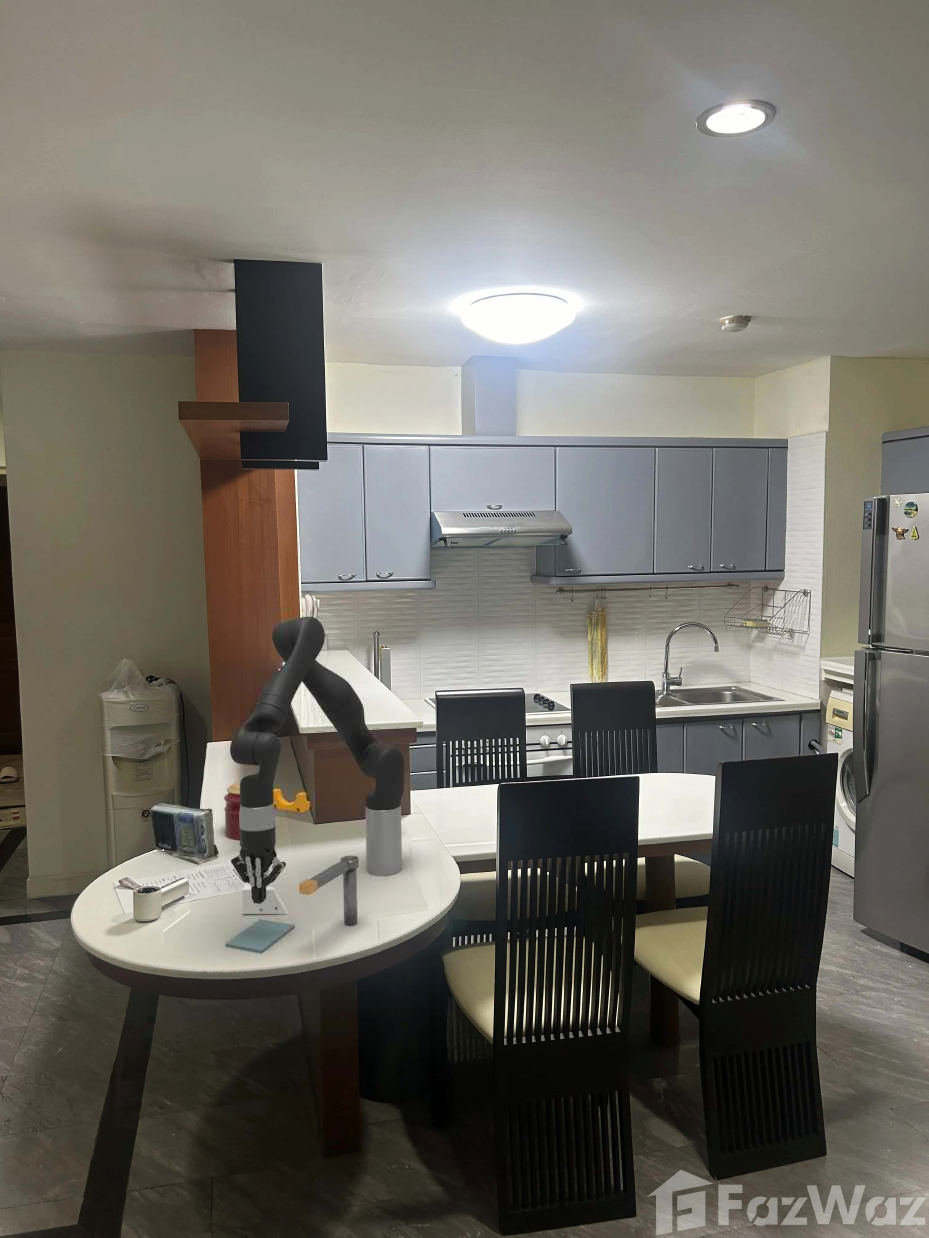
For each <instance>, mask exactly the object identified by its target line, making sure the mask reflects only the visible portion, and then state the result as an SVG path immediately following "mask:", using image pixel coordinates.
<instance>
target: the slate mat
mask: <svg viewBox="0 0 929 1238" xmlns="http://www.w3.org/2000/svg"><path fill="white" fill-rule="evenodd" d="M295 928H296V926H295V924H292V923H286V922H280V921H273V920H269V919H268V920H267V919H263V918H262V919H261V918H260V919H258V920H257V921H255V922H254V923H252V924H251V925H250V926H248V927H247V928H244V930H242V931H241V932H240V933H237V935H236V936H234V937H233V938H231V939H229V940H228V941H227V942H225V945H224V946H225V947H226V948H229V949H234V950H241V951H247V952H250V953H251V952H252V953H257V954H261V955H263V954H264V953H265V952H266V951H267V950H268V949H270V948H272V947H273V946H274V945H275V944H276V943H277V942H279V941H280V940H281V939H282V938H284V937H285V936H287V935H288V934H289V933H291V932H292V931H293V930H294V929H295Z"/></svg>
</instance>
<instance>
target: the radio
mask: <svg viewBox="0 0 929 1238" xmlns="http://www.w3.org/2000/svg"><path fill="white" fill-rule="evenodd" d="M150 814H151V815H150V816H151V822H152V828H153V832H154V833H153V834H154V841H155V850H156V851H159V852H162V853H164V852H165V853H164V854H165V855H168V856H172V857H174V858H178V859H179V860H180V859H181V860H183V861H187V862H190V863H192V864H195V865H197V866H199V865H202V864H206V863H209V862H213V861H215V860H217V859H219V858H220V857H219V853H220V852H219V850H218V847H217V844H215V831H214V830H215V829H214V815H213V809H212V808H211V807H210V808H197V807H188V806H183V805H175V804H170V803H169V804H168V803H154V804H153V805H152V807H151V809H150ZM163 849H164V851H160V850H163Z"/></svg>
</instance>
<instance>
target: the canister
mask: <svg viewBox="0 0 929 1238" xmlns="http://www.w3.org/2000/svg"><path fill="white" fill-rule="evenodd" d="M244 777H245V776H243V777H242V778H244ZM226 792H227V794H225V795H224V796H223V799H224V801H225V807H224V808H223V809H224V815H225V817H224V818H225V819H224V821H225V828H224V830H225V831H224V833H225V837H226V838H228V839H230V840H236V841H240V825H239V812H240V781H236V782H234V783H232V784H231V785H229V786H228V787H227V788H226Z"/></svg>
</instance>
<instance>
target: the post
mask: <svg viewBox="0 0 929 1238" xmlns="http://www.w3.org/2000/svg"><path fill="white" fill-rule="evenodd" d="M357 871H358V870H357V868H356V869H353V870H348V871H347V872H345V873H343V874H342V880H343V881H342V884H343V885H342V886H343V887H342V888H343V893H342V894H343V925H344V926H346V927H354V926H356V925H357V924H358V885H357V884H358V883H357V882H358V881H357V880H358V879H357V878H358V877H357Z"/></svg>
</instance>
